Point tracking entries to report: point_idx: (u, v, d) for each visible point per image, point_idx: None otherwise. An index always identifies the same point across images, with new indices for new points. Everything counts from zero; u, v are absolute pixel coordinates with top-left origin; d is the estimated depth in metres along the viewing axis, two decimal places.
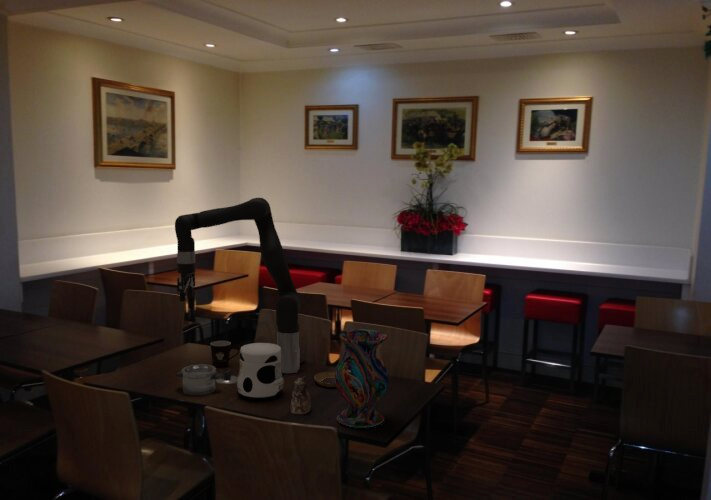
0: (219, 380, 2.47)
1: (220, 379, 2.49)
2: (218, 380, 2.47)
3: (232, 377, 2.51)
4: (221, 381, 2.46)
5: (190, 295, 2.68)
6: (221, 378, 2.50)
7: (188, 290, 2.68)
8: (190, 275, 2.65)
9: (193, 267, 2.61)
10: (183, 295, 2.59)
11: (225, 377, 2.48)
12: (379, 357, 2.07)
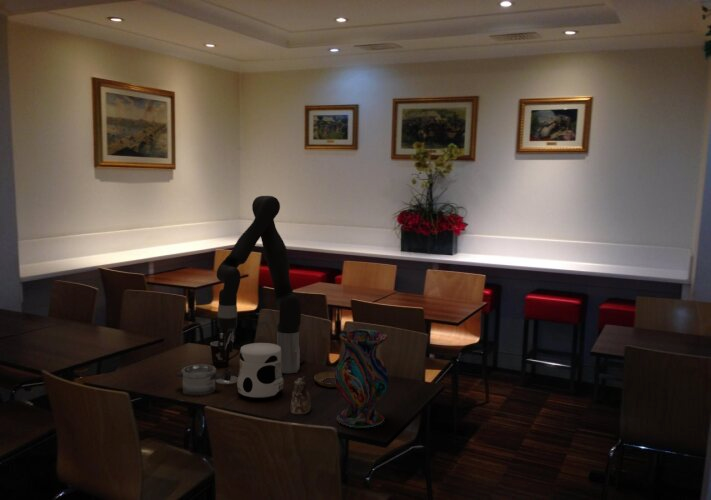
0: (219, 380, 2.47)
1: (220, 379, 2.49)
2: (218, 380, 2.47)
3: (232, 377, 2.51)
4: (221, 381, 2.46)
5: (230, 350, 2.52)
6: (221, 378, 2.50)
7: (228, 344, 2.51)
8: (231, 329, 2.48)
9: (235, 321, 2.45)
10: (224, 352, 2.42)
11: (225, 377, 2.48)
12: (379, 357, 2.07)
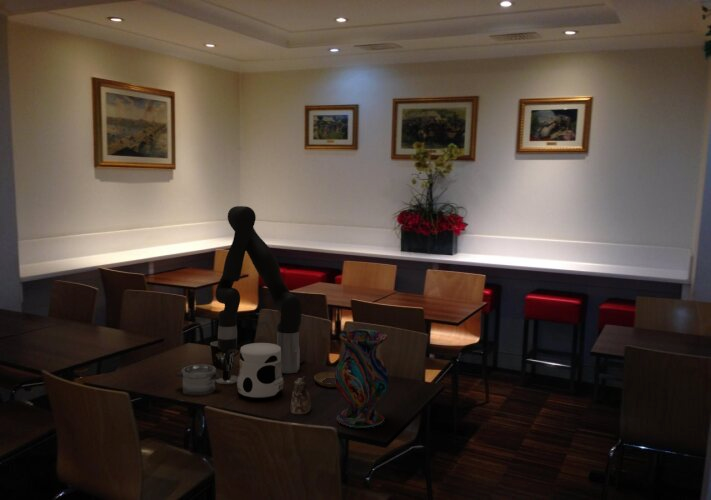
0: (219, 379, 2.47)
1: (220, 378, 2.48)
2: (218, 379, 2.47)
3: (232, 376, 2.51)
4: (221, 380, 2.46)
5: None
6: (221, 377, 2.49)
7: None
8: (231, 350, 2.49)
9: (235, 342, 2.46)
10: (226, 373, 2.46)
11: None
12: (379, 357, 2.07)
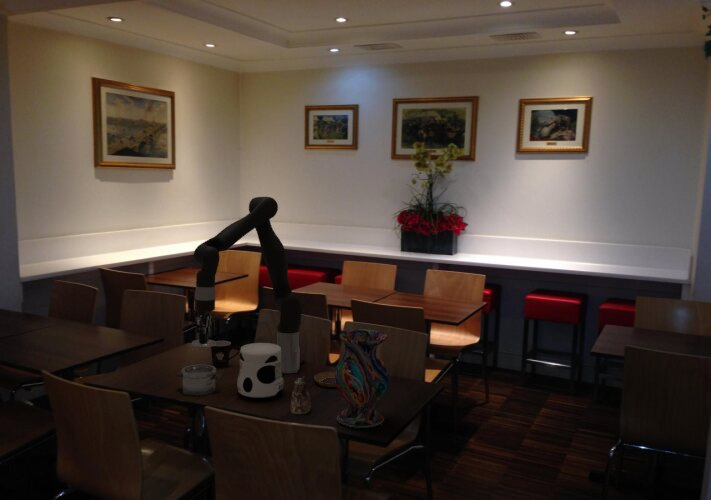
0: (195, 343, 2.36)
1: (196, 342, 2.37)
2: (194, 343, 2.36)
3: (209, 341, 2.40)
4: (197, 344, 2.35)
5: None
6: (197, 341, 2.38)
7: None
8: (209, 312, 2.38)
9: (213, 304, 2.35)
10: (203, 337, 2.35)
11: None
12: (379, 357, 2.07)
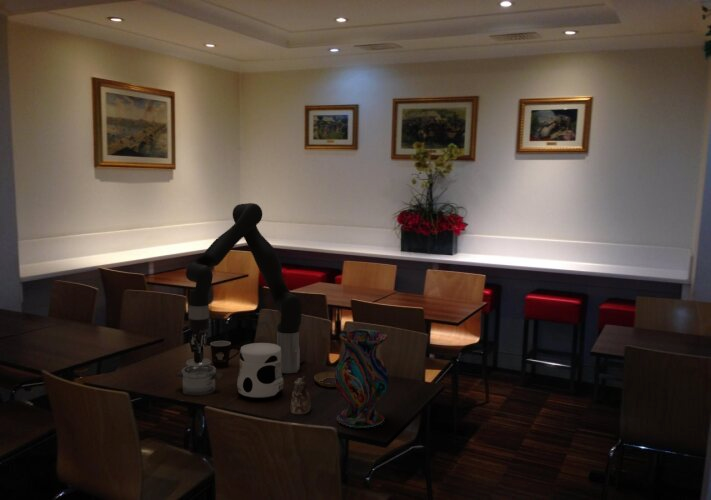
0: (190, 362, 2.34)
1: (191, 361, 2.35)
2: (189, 362, 2.34)
3: (204, 359, 2.38)
4: (192, 363, 2.33)
5: None
6: (192, 360, 2.36)
7: None
8: (203, 331, 2.36)
9: (207, 323, 2.32)
10: (198, 356, 2.33)
11: None
12: (379, 357, 2.07)
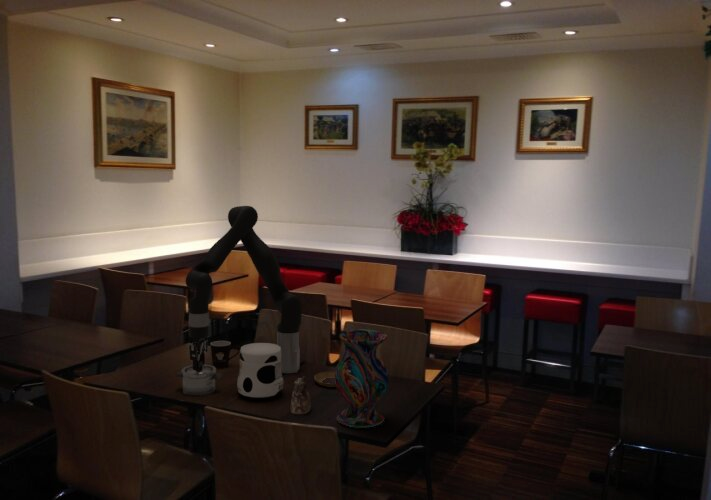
0: (190, 371, 2.34)
1: (191, 370, 2.36)
2: (189, 371, 2.34)
3: (204, 368, 2.38)
4: (192, 372, 2.33)
5: None
6: (192, 369, 2.37)
7: (199, 357, 2.38)
8: (203, 338, 2.36)
9: (207, 330, 2.33)
10: (197, 363, 2.32)
11: None
12: (379, 357, 2.07)
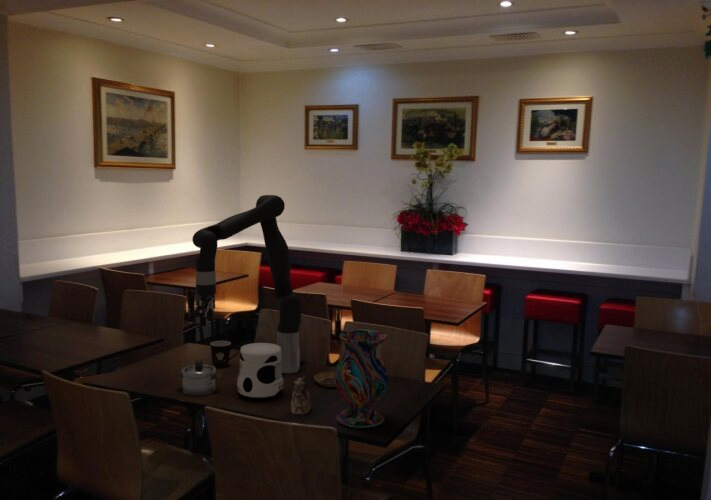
0: (190, 371, 2.34)
1: (191, 370, 2.36)
2: (189, 371, 2.34)
3: (204, 368, 2.38)
4: (192, 372, 2.33)
5: (210, 319, 2.43)
6: (192, 369, 2.37)
7: (208, 313, 2.43)
8: (210, 297, 2.40)
9: (214, 288, 2.36)
10: (204, 320, 2.34)
11: (196, 368, 2.35)
12: (379, 357, 2.07)
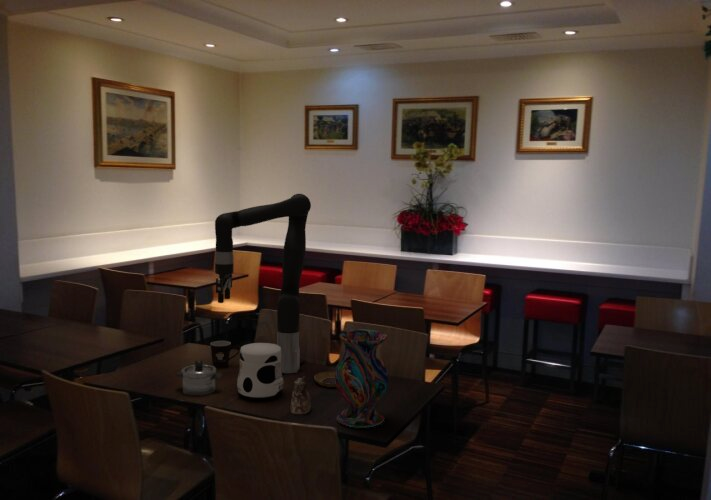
0: (190, 371, 2.34)
1: (191, 370, 2.36)
2: (189, 371, 2.34)
3: (204, 368, 2.38)
4: (192, 372, 2.33)
5: (227, 297, 2.60)
6: (192, 369, 2.37)
7: (225, 291, 2.60)
8: (228, 276, 2.57)
9: (231, 268, 2.54)
10: (221, 297, 2.51)
11: (196, 368, 2.35)
12: (379, 357, 2.07)
